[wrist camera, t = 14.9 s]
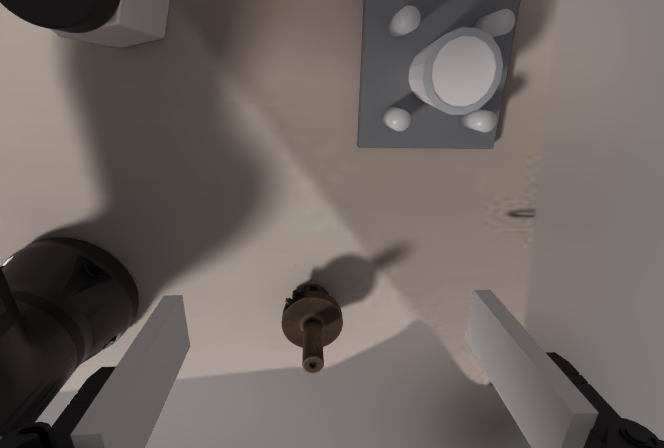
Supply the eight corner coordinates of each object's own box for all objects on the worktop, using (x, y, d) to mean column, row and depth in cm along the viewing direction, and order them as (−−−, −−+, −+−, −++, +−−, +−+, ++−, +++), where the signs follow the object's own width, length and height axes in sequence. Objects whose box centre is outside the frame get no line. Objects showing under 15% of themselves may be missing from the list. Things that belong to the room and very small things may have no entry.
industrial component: (350, 305, 48) (363, 373, 37) (306, 332, 49) (306, 405, 38) (310, 254, 45) (311, 311, 34) (264, 283, 46) (250, 348, 35)
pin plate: (357, 145, 40) (364, 154, 35) (364, -12, 35) (374, -28, 29) (486, 146, 41) (512, 155, 36) (513, -6, 36) (548, -21, 30)
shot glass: (478, 46, 36) (516, 38, 29) (455, 116, 38) (485, 123, 32) (414, 28, 35) (438, 16, 28) (394, 101, 37) (412, 105, 31)
